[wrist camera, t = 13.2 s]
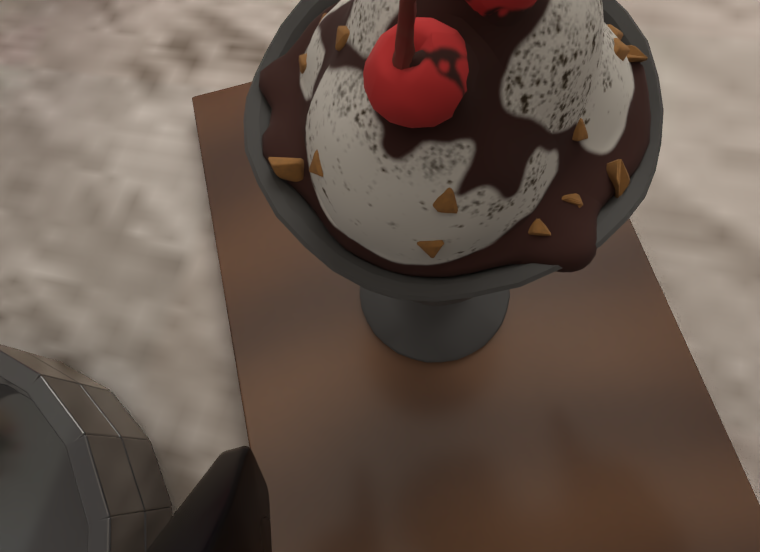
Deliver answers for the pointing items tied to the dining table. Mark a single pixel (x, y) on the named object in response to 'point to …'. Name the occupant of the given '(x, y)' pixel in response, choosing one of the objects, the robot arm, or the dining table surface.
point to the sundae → (453, 150)
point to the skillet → (72, 464)
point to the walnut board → (467, 403)
